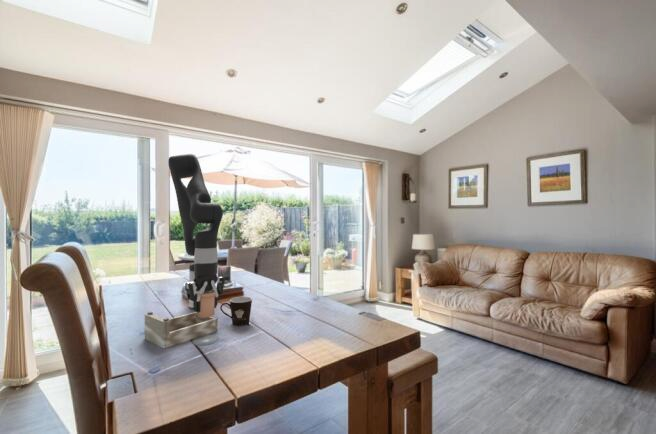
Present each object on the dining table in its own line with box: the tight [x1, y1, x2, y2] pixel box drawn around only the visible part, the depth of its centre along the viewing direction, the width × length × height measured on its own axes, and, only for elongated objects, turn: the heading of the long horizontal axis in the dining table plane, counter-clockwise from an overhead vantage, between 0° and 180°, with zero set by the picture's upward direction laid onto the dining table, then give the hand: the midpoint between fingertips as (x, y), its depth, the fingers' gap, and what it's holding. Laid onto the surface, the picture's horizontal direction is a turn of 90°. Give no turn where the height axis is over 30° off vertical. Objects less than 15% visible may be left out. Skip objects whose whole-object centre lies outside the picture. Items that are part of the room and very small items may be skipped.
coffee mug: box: [220, 296, 253, 327], centre depth 125 cm, size 12×9×10 cm
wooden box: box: [144, 311, 219, 349], centre depth 112 cm, size 20×14×10 cm
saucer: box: [192, 334, 220, 346], centre depth 107 cm, size 8×8×1 cm
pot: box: [197, 290, 216, 318], centre depth 107 cm, size 6×6×8 cm
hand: (205, 309), depth 107 cm, fingers closed on pot, 5 cm apart
